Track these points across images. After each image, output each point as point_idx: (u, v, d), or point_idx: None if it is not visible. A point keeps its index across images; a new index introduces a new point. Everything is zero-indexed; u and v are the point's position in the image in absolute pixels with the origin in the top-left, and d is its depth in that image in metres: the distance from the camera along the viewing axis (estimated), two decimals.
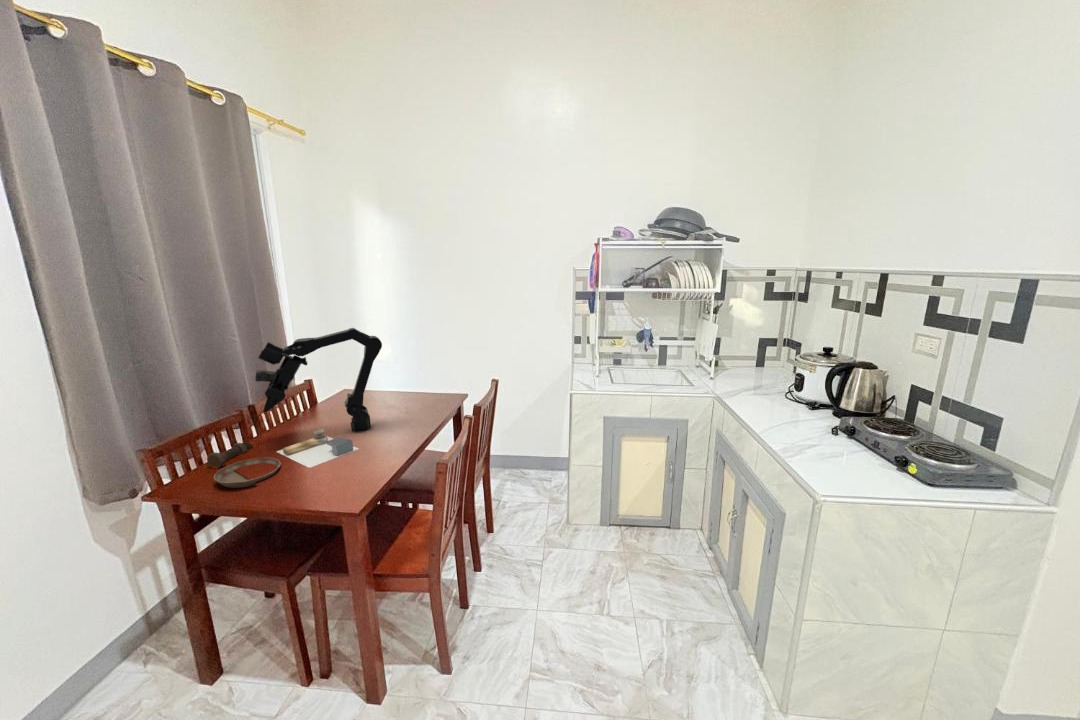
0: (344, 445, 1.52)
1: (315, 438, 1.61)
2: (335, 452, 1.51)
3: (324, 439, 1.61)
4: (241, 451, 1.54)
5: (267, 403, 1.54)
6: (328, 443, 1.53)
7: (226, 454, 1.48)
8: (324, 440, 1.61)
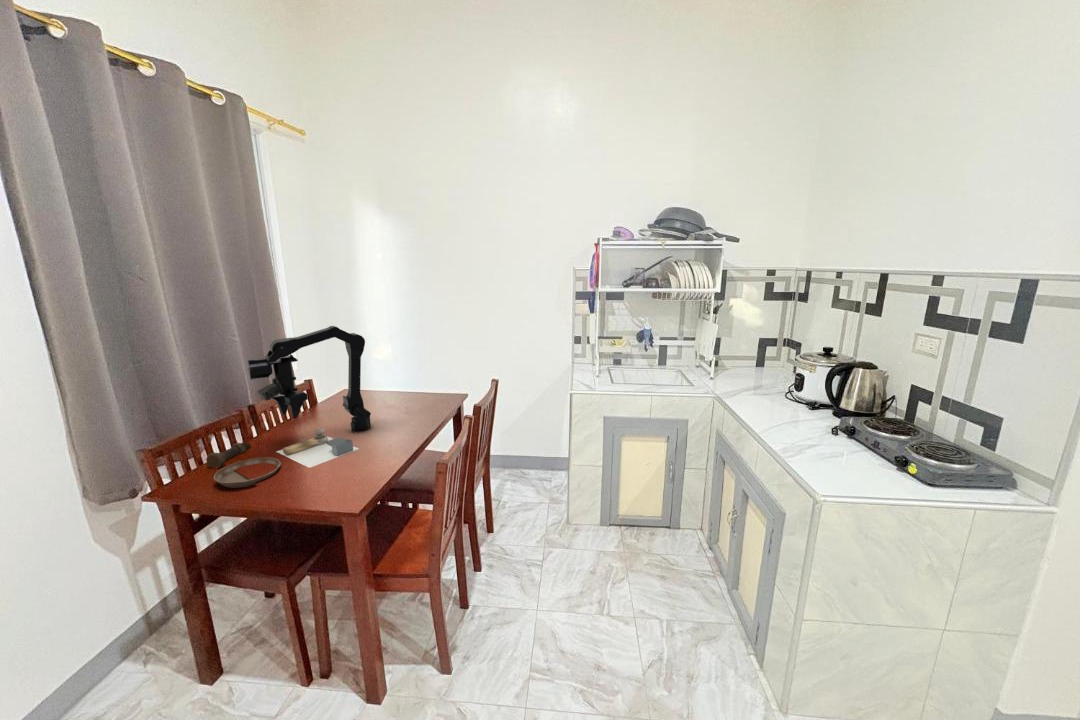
0: (344, 445, 1.52)
1: (315, 438, 1.61)
2: (335, 452, 1.51)
3: (324, 439, 1.61)
4: (240, 451, 1.54)
5: (294, 410, 1.54)
6: (328, 443, 1.53)
7: (225, 454, 1.48)
8: (324, 440, 1.61)
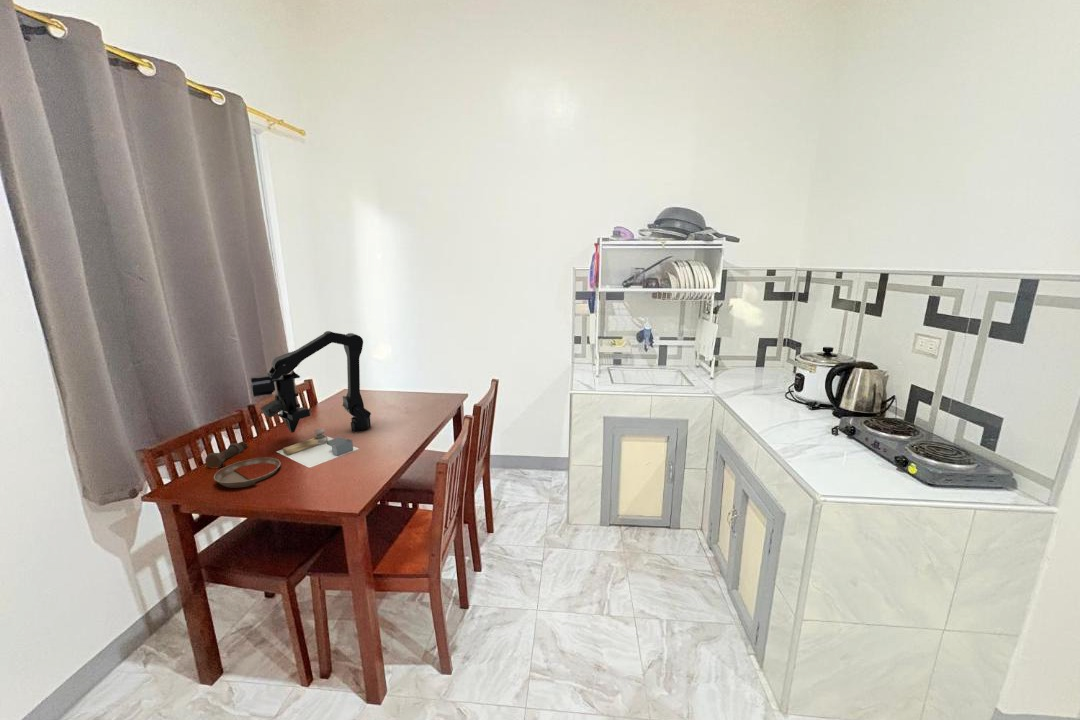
0: (344, 445, 1.52)
1: (315, 438, 1.61)
2: (335, 452, 1.51)
3: (324, 439, 1.61)
4: (238, 451, 1.54)
5: (291, 424, 1.58)
6: (328, 443, 1.53)
7: (224, 454, 1.48)
8: (324, 440, 1.61)
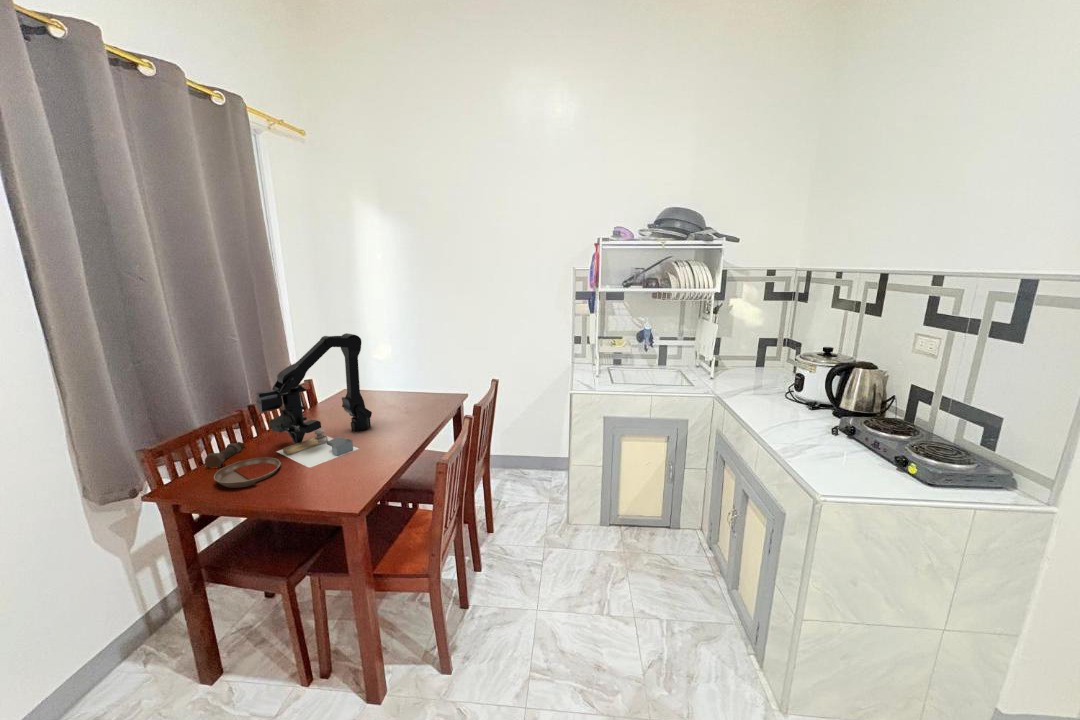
0: (344, 445, 1.52)
1: (315, 438, 1.61)
2: (335, 452, 1.51)
3: (324, 439, 1.61)
4: (236, 451, 1.54)
5: (298, 438, 1.57)
6: (328, 443, 1.53)
7: (223, 454, 1.48)
8: (324, 440, 1.61)
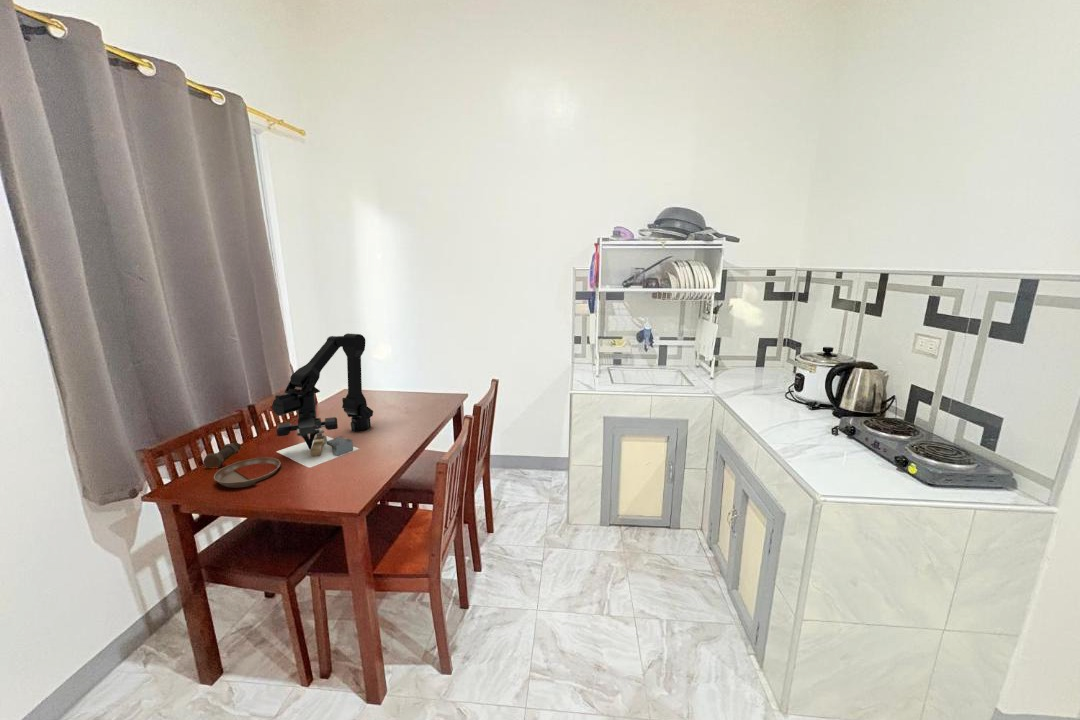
0: (344, 445, 1.52)
1: (318, 439, 1.60)
2: (335, 452, 1.51)
3: (326, 437, 1.63)
4: (233, 451, 1.54)
5: (312, 440, 1.54)
6: (328, 443, 1.53)
7: (222, 454, 1.48)
8: (326, 438, 1.63)
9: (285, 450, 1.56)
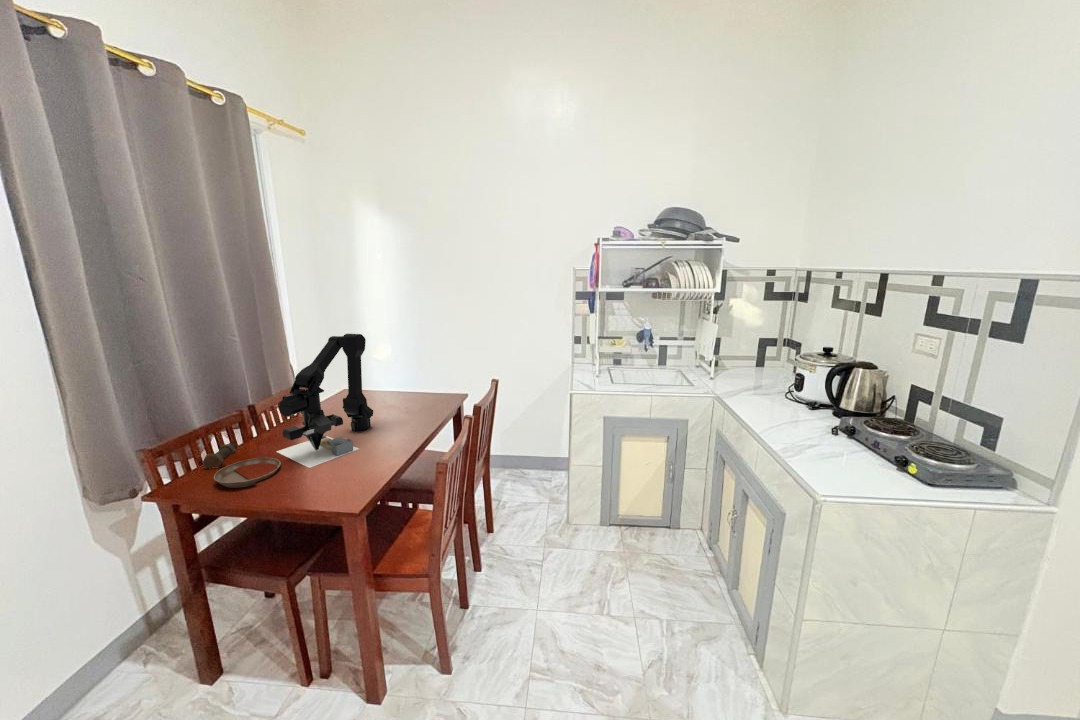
0: (344, 445, 1.52)
1: None
2: (335, 452, 1.51)
3: None
4: (231, 451, 1.54)
5: None
6: (328, 443, 1.53)
7: (221, 454, 1.48)
8: None
9: (285, 450, 1.56)
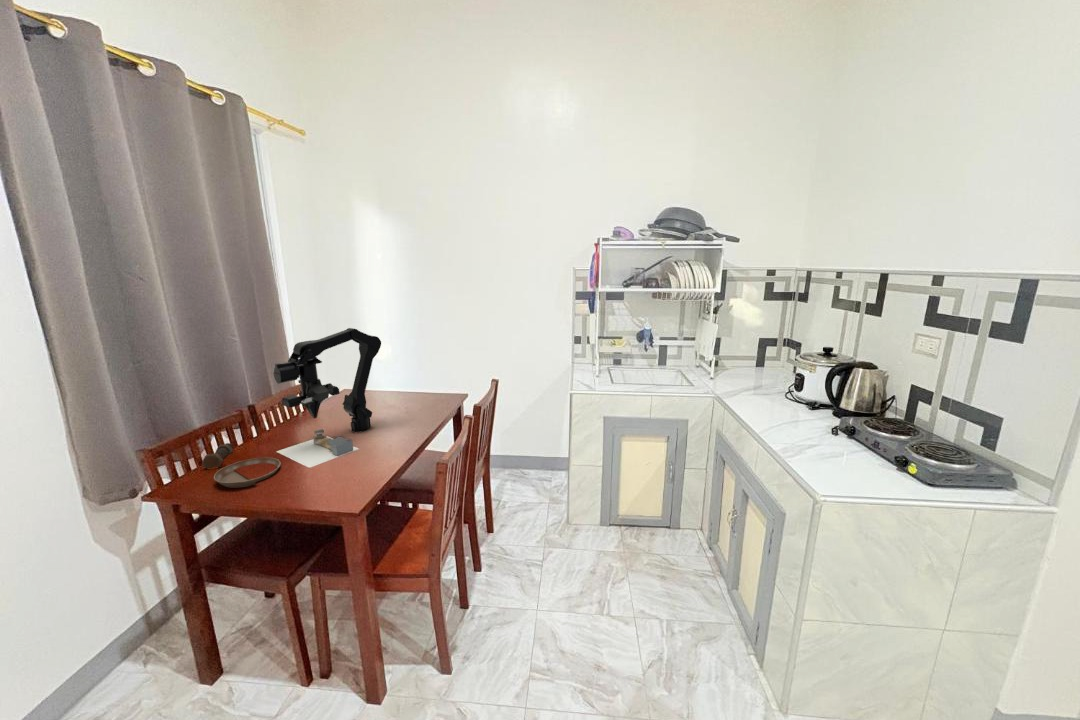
0: (344, 445, 1.52)
1: (320, 438, 1.60)
2: (335, 452, 1.51)
3: None
4: (228, 452, 1.54)
5: None
6: (328, 443, 1.53)
7: (220, 455, 1.48)
8: None
9: (285, 450, 1.56)
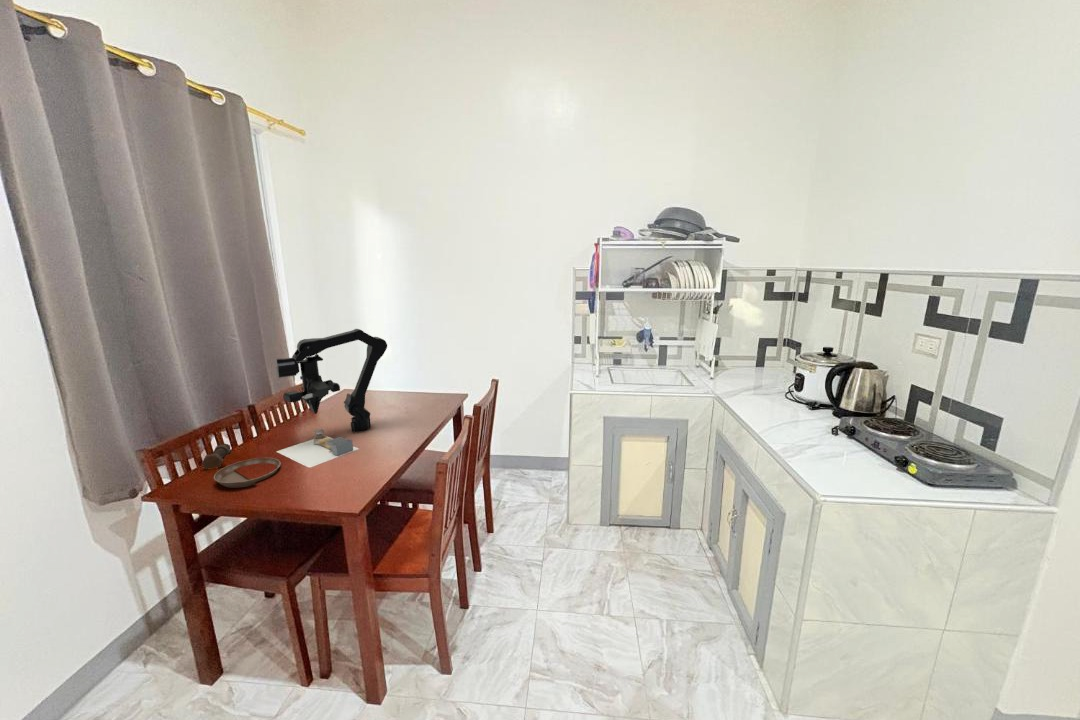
0: (344, 445, 1.52)
1: (320, 438, 1.60)
2: (335, 452, 1.51)
3: None
4: (226, 452, 1.53)
5: None
6: (328, 443, 1.53)
7: (219, 455, 1.48)
8: None
9: (285, 450, 1.56)
